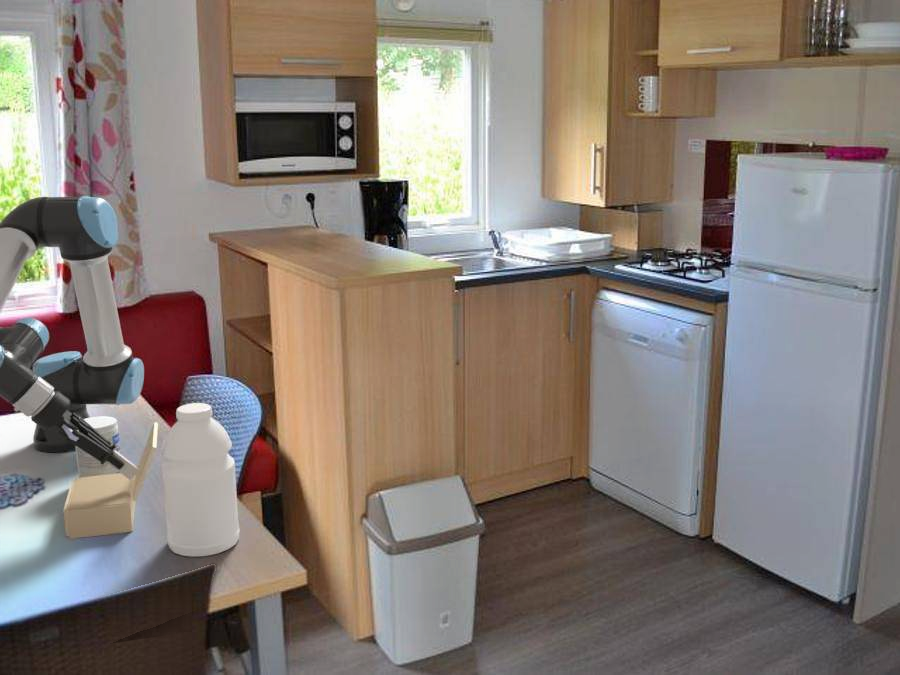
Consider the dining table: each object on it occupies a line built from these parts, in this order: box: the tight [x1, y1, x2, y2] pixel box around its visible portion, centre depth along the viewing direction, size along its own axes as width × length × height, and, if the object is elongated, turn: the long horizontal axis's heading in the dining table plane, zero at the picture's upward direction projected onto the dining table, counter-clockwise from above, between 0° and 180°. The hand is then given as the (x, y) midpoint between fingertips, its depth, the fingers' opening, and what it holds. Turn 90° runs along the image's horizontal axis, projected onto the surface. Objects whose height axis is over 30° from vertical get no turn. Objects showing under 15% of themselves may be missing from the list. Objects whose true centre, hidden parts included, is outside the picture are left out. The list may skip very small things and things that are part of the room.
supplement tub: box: [75, 415, 122, 478], centre depth 216 cm, size 10×10×15 cm
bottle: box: [161, 402, 241, 558], centre depth 184 cm, size 14×14×28 cm
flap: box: [132, 421, 159, 502], centre depth 199 cm, size 16×1×12 cm, turn 16°
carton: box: [62, 473, 137, 540], centre depth 198 cm, size 18×13×6 cm
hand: (134, 474), depth 198 cm, fingers closed
